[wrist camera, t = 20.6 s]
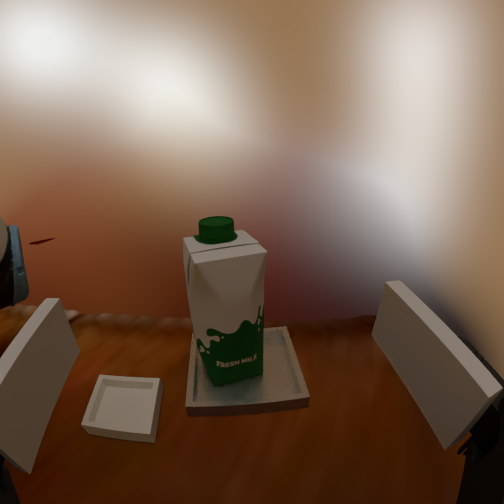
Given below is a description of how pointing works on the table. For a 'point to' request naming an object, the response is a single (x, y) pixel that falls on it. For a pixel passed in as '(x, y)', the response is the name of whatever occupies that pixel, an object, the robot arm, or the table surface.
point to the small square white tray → (124, 408)
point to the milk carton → (226, 299)
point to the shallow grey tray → (250, 382)
